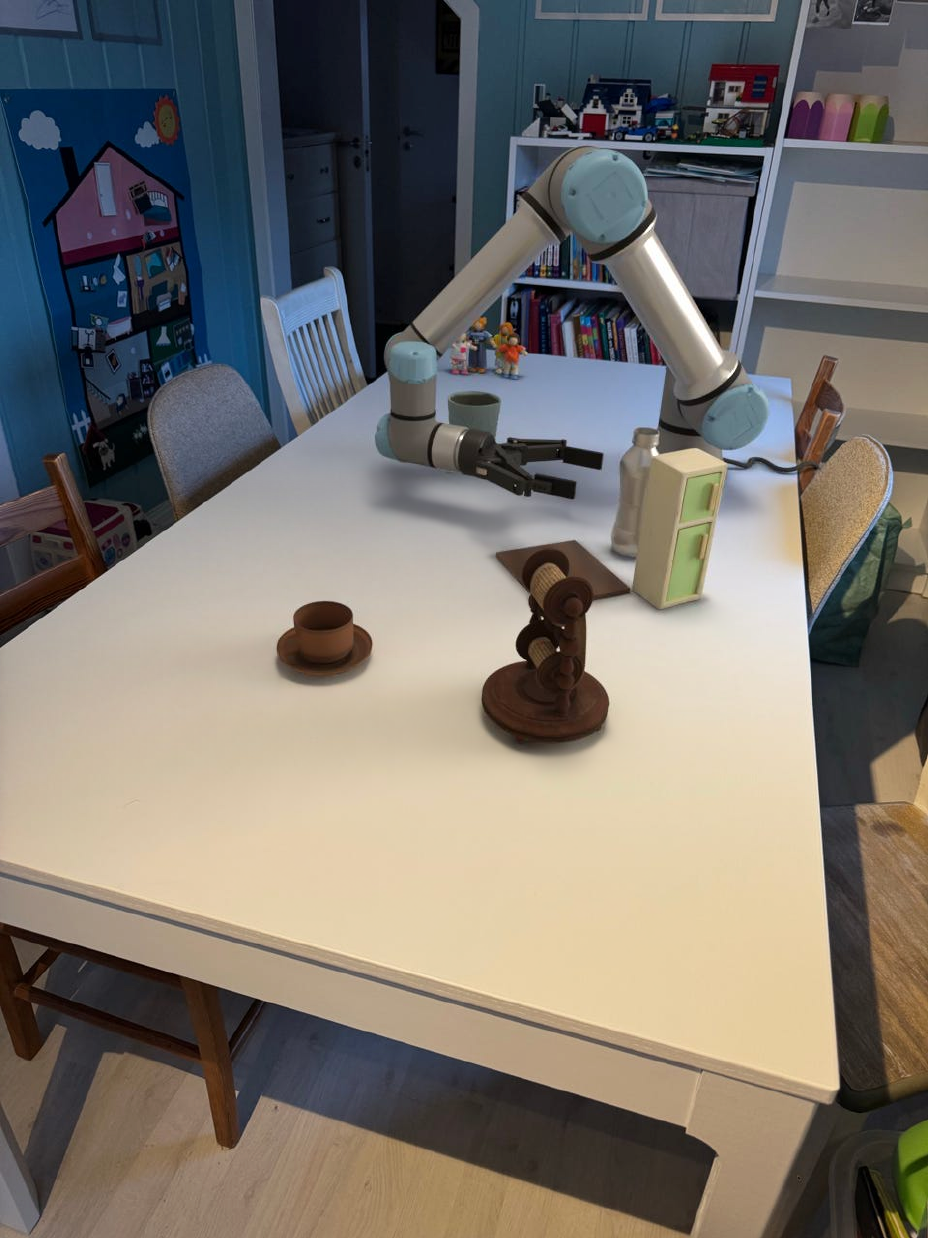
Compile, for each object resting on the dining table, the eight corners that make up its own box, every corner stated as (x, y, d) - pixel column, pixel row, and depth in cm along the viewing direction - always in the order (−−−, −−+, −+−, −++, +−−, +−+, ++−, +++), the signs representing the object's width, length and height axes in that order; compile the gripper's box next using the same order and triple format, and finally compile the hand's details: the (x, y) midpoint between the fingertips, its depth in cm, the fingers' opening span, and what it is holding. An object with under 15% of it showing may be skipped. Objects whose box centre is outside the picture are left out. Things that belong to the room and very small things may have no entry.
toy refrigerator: (661, 613, 125) (685, 473, 114) (630, 590, 130) (650, 454, 119) (705, 601, 128) (733, 464, 117) (672, 579, 133) (696, 446, 122)
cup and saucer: (332, 695, 105) (329, 652, 102) (257, 663, 111) (252, 621, 107) (391, 650, 114) (391, 609, 111) (319, 622, 119) (317, 582, 116)
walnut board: (574, 544, 143) (575, 539, 142) (630, 593, 129) (630, 588, 129) (495, 556, 138) (495, 552, 137) (544, 609, 124) (545, 604, 124)
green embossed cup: (438, 461, 172) (439, 401, 165) (458, 445, 180) (459, 387, 173) (486, 470, 168) (490, 409, 162) (504, 453, 176) (508, 394, 170)
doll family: (442, 373, 224) (443, 319, 217) (448, 363, 232) (450, 311, 225) (525, 380, 221) (528, 326, 214) (529, 369, 229) (532, 317, 222)
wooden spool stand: (627, 741, 100) (653, 587, 89) (504, 763, 96) (516, 604, 86) (577, 669, 112) (594, 526, 101) (465, 686, 108) (471, 538, 98)
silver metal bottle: (650, 564, 137) (670, 440, 127) (607, 558, 138) (623, 436, 128) (651, 546, 143) (670, 426, 132) (609, 541, 144) (625, 422, 134)
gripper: (494, 449, 156) (609, 471, 149) (430, 498, 137) (560, 527, 130) (496, 408, 152) (615, 429, 145) (431, 452, 133) (564, 479, 126)
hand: (589, 475), depth 137 cm, fingers open, 13 cm apart
